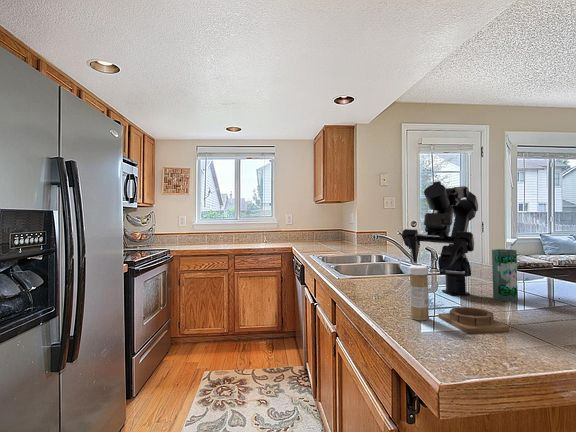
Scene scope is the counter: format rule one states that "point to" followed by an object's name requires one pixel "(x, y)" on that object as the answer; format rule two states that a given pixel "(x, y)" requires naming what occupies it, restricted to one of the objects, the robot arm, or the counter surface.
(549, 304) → the counter surface
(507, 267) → the can
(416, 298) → the sprinkles bottle
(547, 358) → the counter surface
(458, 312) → the holder
